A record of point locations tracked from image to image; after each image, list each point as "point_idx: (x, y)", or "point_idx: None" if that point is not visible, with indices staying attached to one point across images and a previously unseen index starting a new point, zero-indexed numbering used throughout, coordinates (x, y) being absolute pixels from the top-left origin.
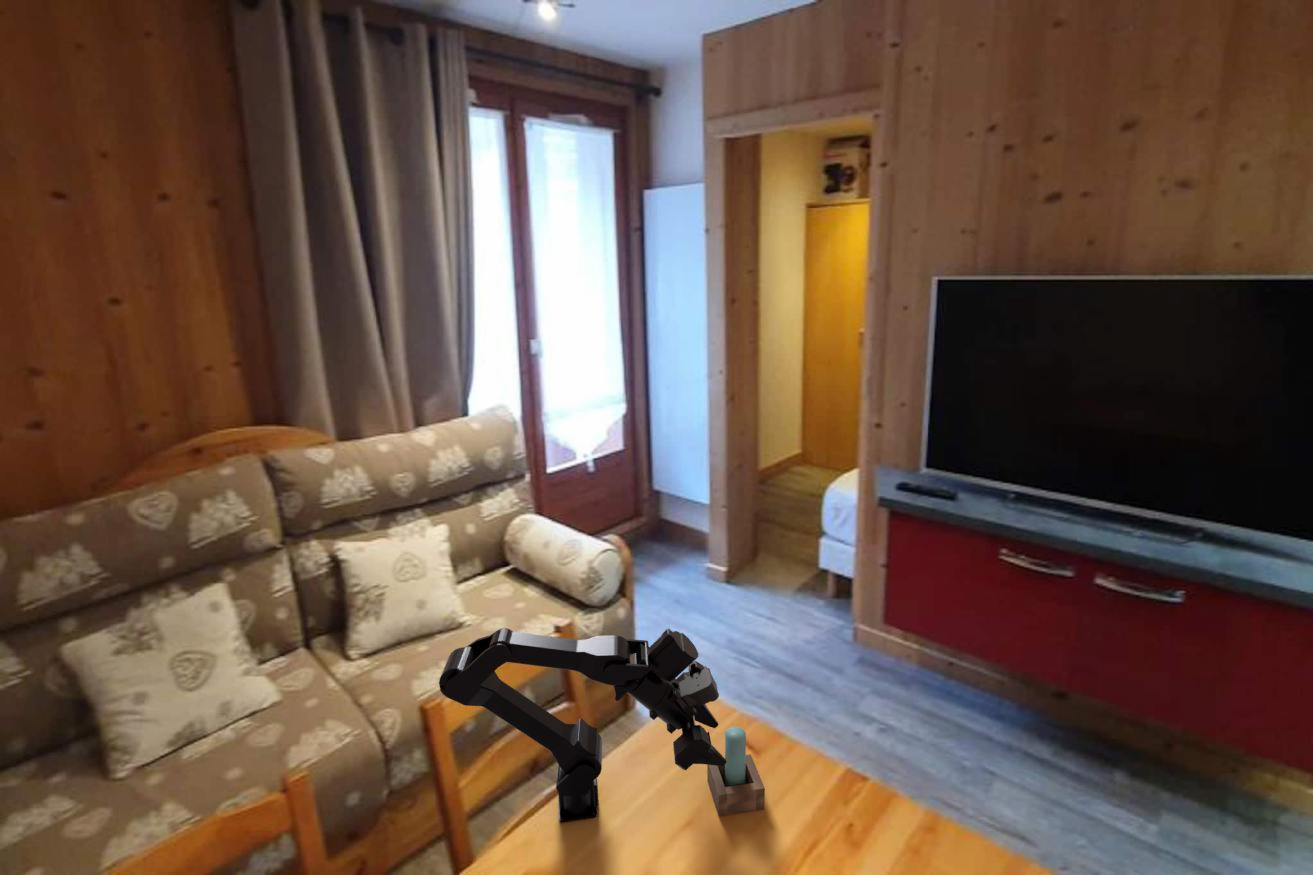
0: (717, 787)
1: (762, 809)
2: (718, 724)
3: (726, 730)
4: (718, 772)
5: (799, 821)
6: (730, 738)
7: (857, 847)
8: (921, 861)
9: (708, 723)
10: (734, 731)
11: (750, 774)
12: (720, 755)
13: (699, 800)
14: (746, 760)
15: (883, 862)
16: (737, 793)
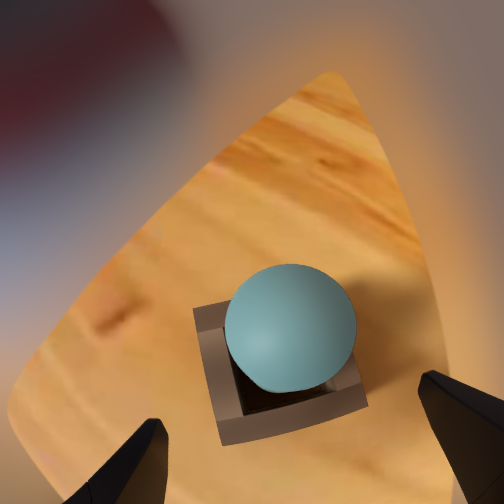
0: (338, 412)
1: None
2: (157, 418)
3: (264, 382)
4: (274, 413)
5: (333, 234)
6: (337, 355)
7: (363, 162)
8: (360, 111)
9: (162, 472)
10: (268, 331)
11: None
12: (467, 392)
13: (296, 452)
14: (218, 323)
15: (376, 142)
16: (351, 353)
